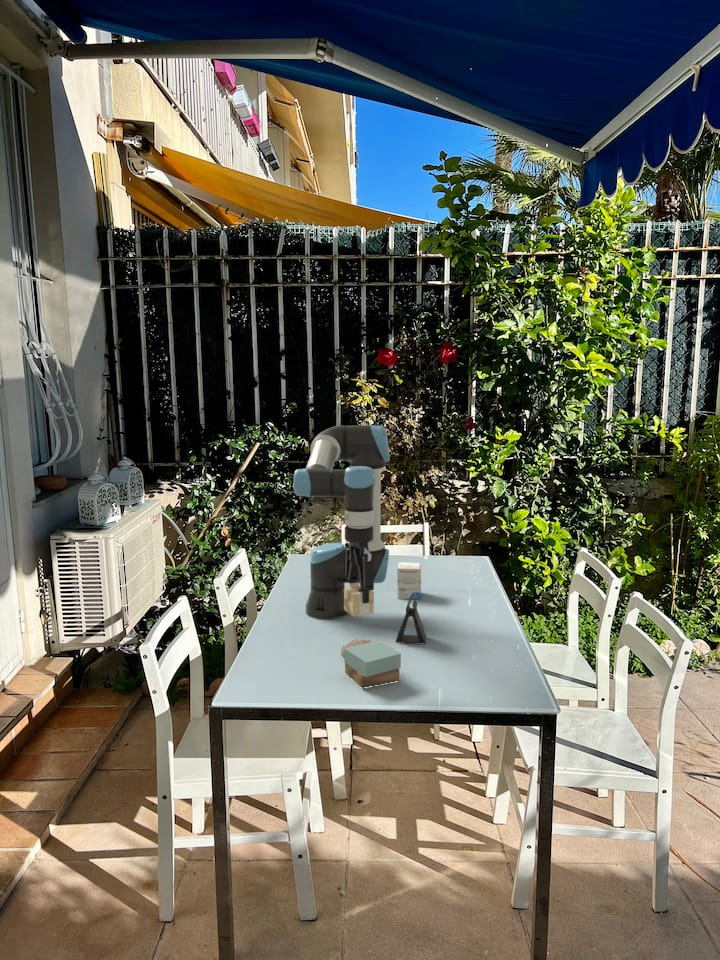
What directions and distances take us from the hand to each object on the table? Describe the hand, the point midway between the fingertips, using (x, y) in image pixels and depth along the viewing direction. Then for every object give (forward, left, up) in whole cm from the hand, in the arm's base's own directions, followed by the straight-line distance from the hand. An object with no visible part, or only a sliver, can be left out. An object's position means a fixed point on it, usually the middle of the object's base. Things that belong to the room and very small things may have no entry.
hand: (358, 610), depth 190 cm
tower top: (+2, +3, -15) cm, 16 cm away
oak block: (0, 0, 0) cm, 1 cm away
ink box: (-56, +47, -19) cm, 75 cm away
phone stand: (-18, +26, -19) cm, 37 cm away
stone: (-15, +8, -20) cm, 26 cm away
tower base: (+2, +3, -19) cm, 20 cm away
